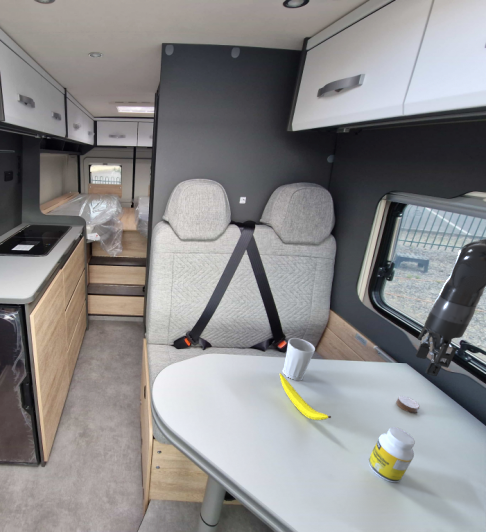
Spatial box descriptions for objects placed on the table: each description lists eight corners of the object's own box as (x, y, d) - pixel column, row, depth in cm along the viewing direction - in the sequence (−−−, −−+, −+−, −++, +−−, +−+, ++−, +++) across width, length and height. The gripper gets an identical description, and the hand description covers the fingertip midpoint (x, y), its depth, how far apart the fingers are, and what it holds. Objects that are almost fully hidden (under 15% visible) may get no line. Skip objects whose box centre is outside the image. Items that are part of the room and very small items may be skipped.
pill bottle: (365, 453, 79) (381, 419, 75) (396, 465, 76) (414, 430, 72) (370, 475, 73) (388, 440, 69) (404, 489, 71) (424, 453, 67)
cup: (282, 363, 111) (290, 335, 107) (306, 372, 107) (316, 344, 103) (277, 375, 105) (286, 345, 101) (303, 385, 101) (313, 355, 97)
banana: (280, 384, 101) (284, 368, 99) (328, 433, 84) (335, 416, 82) (272, 385, 100) (277, 369, 98) (319, 435, 83) (326, 417, 81)
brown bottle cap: (414, 404, 96) (416, 400, 95) (419, 415, 92) (421, 410, 91) (394, 398, 98) (396, 393, 98) (398, 408, 94) (400, 404, 93)
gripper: (482, 332, 73) (453, 386, 79) (457, 308, 85) (432, 356, 91) (441, 323, 77) (416, 375, 82) (422, 301, 88) (401, 348, 94)
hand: (425, 365), depth 87 cm, fingers open, 8 cm apart
